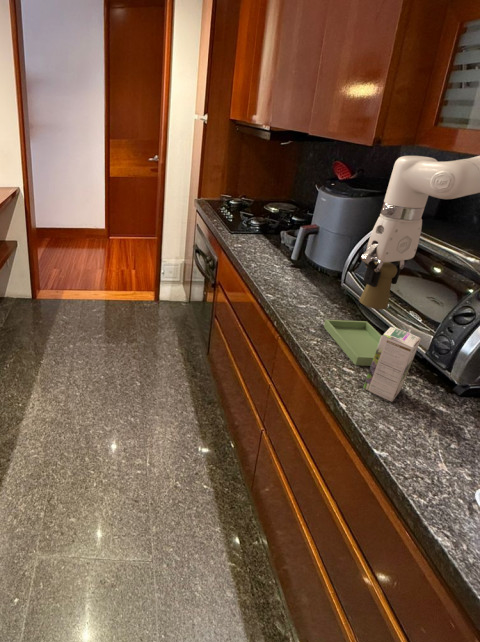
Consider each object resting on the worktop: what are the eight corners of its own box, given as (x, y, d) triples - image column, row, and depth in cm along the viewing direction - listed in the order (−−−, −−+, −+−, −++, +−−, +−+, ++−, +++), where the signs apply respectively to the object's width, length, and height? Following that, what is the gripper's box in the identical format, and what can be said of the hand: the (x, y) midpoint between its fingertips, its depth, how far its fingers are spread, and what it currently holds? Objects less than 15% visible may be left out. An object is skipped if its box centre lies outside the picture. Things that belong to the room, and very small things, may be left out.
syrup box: (371, 378, 90) (388, 325, 85) (401, 391, 86) (422, 336, 81) (362, 388, 87) (380, 334, 82) (393, 403, 83) (414, 347, 77)
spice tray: (403, 368, 94) (406, 359, 93) (355, 365, 95) (357, 357, 94) (364, 328, 110) (367, 321, 109) (323, 327, 110) (325, 319, 110)
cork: (382, 299, 99) (394, 260, 95) (392, 310, 94) (405, 269, 90) (355, 296, 101) (367, 257, 96) (363, 307, 95) (376, 266, 91)
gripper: (386, 219, 83) (364, 294, 90) (447, 213, 87) (421, 285, 94) (356, 210, 90) (338, 280, 96) (414, 205, 93) (392, 273, 100)
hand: (379, 282), depth 95 cm, fingers closed on cork, 5 cm apart
